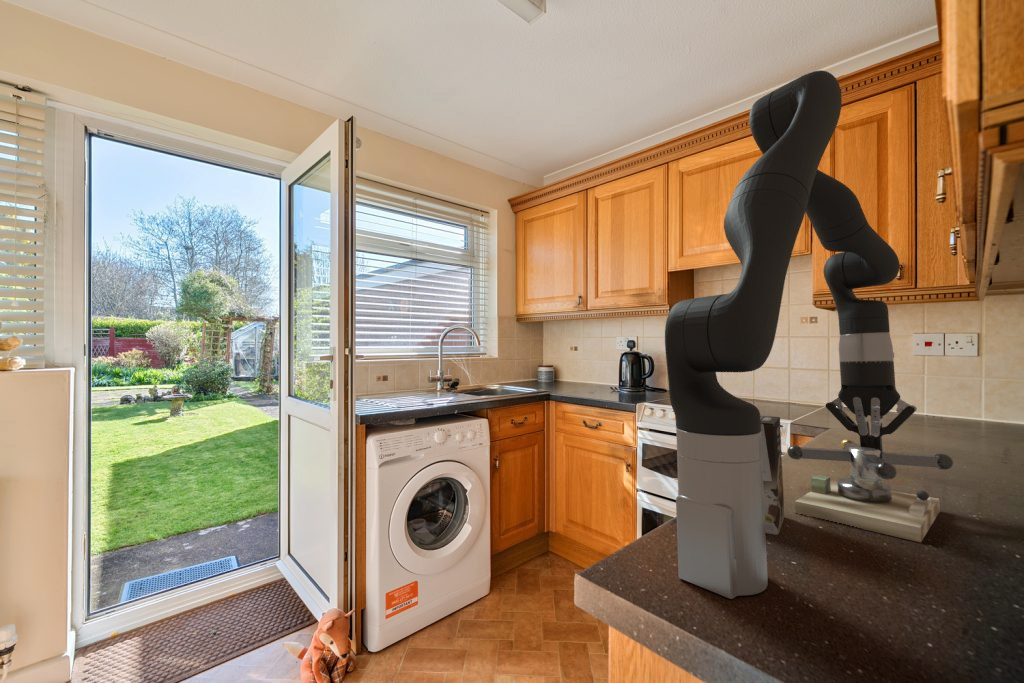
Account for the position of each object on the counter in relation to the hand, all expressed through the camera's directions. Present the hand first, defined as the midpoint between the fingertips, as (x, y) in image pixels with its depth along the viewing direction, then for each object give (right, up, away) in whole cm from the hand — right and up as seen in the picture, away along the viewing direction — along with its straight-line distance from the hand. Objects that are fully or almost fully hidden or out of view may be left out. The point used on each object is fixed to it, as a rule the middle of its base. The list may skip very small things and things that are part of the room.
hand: (872, 456), depth 76 cm
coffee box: (-25, -8, -9) cm, 28 cm away
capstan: (-6, -5, -6) cm, 10 cm away
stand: (-6, -7, -6) cm, 11 cm away
